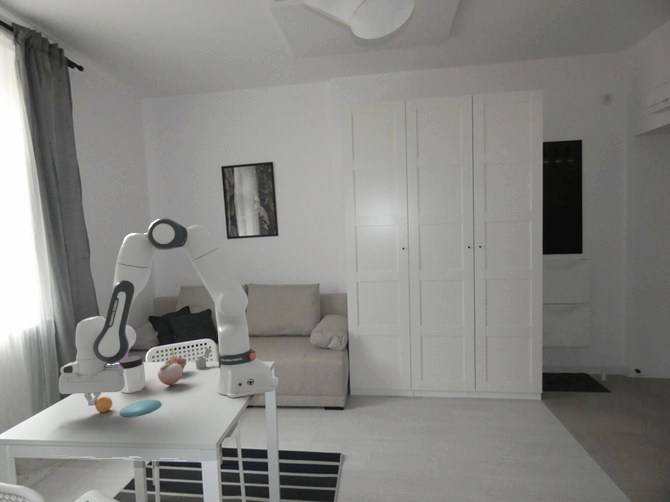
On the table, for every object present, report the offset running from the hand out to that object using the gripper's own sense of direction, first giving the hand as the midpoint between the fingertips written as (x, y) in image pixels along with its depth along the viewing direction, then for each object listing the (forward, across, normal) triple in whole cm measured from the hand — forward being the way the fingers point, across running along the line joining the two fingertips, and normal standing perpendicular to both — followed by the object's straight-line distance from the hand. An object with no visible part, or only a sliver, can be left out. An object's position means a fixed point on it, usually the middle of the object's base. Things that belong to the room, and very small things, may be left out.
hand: (93, 404), depth 137 cm
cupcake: (+2, -17, -34) cm, 38 cm away
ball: (0, -4, 0) cm, 4 cm away
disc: (+2, -16, 0) cm, 16 cm away
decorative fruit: (+2, -20, -20) cm, 28 cm away
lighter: (+1, -27, -41) cm, 49 cm away
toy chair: (+3, +4, -30) cm, 31 cm away
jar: (+2, -5, -20) cm, 21 cm away
